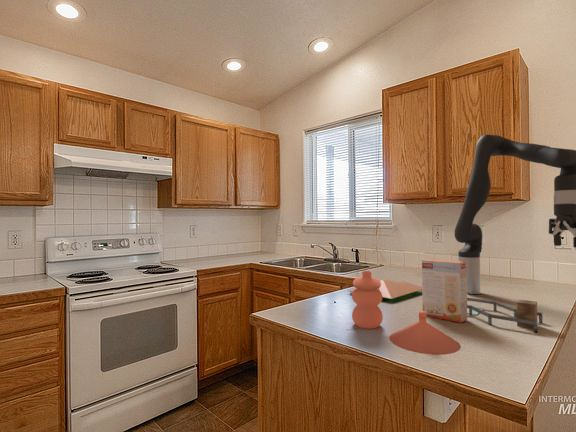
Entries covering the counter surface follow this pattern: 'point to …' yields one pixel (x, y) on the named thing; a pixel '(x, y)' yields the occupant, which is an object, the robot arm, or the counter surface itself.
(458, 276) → the cracker box
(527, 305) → the walnut block
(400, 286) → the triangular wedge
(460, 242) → the robot arm
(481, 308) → the mat
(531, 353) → the counter surface
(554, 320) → the counter surface
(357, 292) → the ceramic vessels
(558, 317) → the counter surface
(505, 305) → the wire channel
